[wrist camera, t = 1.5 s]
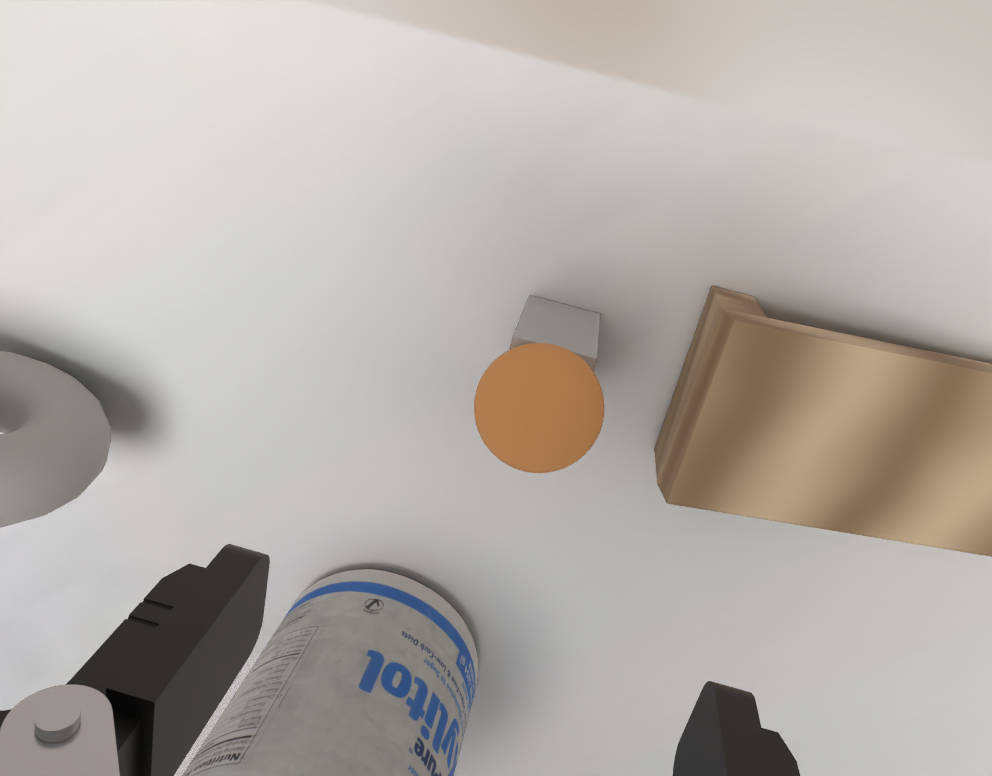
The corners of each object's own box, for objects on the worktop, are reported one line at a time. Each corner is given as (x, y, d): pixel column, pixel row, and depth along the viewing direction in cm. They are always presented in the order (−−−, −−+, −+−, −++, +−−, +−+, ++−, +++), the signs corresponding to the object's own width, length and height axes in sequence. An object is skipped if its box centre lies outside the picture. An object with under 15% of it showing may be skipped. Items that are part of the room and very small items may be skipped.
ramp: (654, 448, 31) (659, 501, 27) (711, 285, 28) (725, 318, 24) (998, 542, 30) (1052, 608, 27) (1092, 384, 28) (1167, 434, 24)
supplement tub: (522, 651, 36) (464, 997, 23) (398, 748, 40) (284, 1096, 26) (364, 521, 35) (202, 807, 21) (250, 633, 38) (49, 939, 25)
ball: (608, 436, 26) (606, 496, 22) (491, 439, 27) (470, 497, 23) (602, 323, 24) (599, 367, 21) (479, 329, 25) (455, 372, 22)
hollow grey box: (512, 361, 31) (493, 412, 26) (529, 295, 29) (512, 336, 25) (580, 379, 30) (574, 434, 26) (600, 313, 29) (596, 358, 25)
